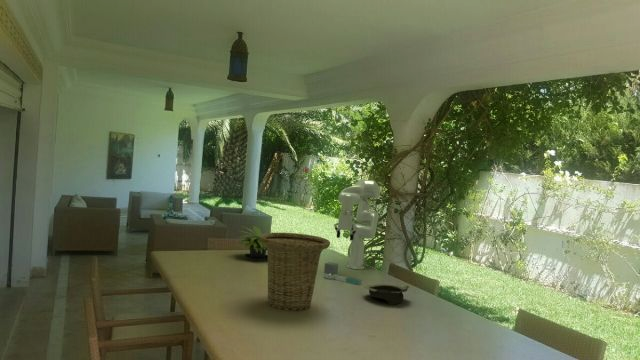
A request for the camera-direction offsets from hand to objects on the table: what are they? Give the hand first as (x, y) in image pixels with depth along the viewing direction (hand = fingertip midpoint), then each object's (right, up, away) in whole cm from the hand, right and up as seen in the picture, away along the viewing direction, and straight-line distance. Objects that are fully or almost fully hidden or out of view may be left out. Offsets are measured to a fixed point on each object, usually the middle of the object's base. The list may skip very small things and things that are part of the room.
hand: (344, 239), depth 314 cm
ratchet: (-2, -24, -12) cm, 27 cm away
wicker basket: (-31, -24, -74) cm, 84 cm away
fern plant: (-61, -18, +31) cm, 71 cm away
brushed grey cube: (-9, -21, -8) cm, 24 cm away
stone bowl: (+20, -28, -48) cm, 59 cm away
